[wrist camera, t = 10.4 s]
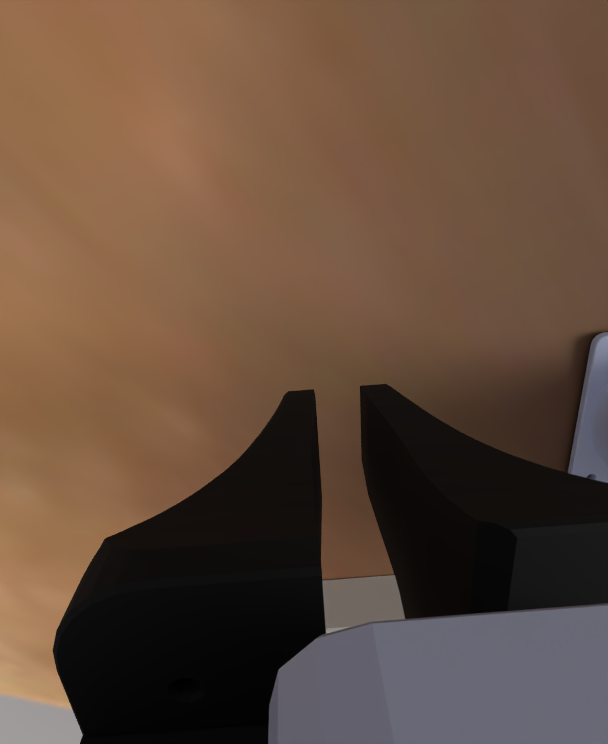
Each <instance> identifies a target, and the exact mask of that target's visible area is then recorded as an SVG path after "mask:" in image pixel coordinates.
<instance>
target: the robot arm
mask: <svg viewBox="0 0 608 744" xmlns="http://www.w3.org/2000/svg"><path fill="white" fill-rule="evenodd" d="M360 406H361V448H362V463H363V469H364V475H365V480H366V485H367V490H368V495H369V498H370V501H371V504H372V507H373V511H374V514H375V517H376V520H377V523H378V526H379V529H380V532H381V535H382V538H383V541H384V544H385V547H386V550H387V553H388V556H389V559H390V562H391V565H392V568H393V571H394V574H395V578H396V582H397V585H398V589H399V593H400V597H401V602H402V606H403V611H404V616H405V619H400V620H387V621H374V622H368V623H364V624H360V625H357V626H353V627H349V628H345V629H342V630H338V631H334V632H331V633H327V634H326V626H325V612H324V597H323V583H322V570H321V522H322V492H321V476H320V461H319V446H318V430H317V415H316V400H315V393H314V390H300V391H288V392H287V393H286V394H285V395H284V397H283V399H282V401H281V403H280V405H279V406H278V408H277V410H276V411H275V413H274V415H273V416H272V418H271V419H270V421H269V422H268V423H267V425H266V426H265V428H264V429H263V431H262V432H261V433H260V435H259V436H258V437H257V438H256V439H255V441H254V442H253V443H252V444H251V445H250V447H249V448H248V449H247V450H246V451H245V452H244V453H243V454H242V455H241V457H240V458H239V459H238V460H237V461H235V462H234V463H233V464H232V465H231V466H230V467H229V468H228V469H227V470H225V471H224V472H223V473H222V474H220V475H219V476H218V477H216V478H215V479H214V480H212V481H211V482H210V483H208V484H207V485H205V486H204V487H203V488H201V489H200V490H199V491H197V492H196V493H194V494H193V495H191V496H189V497H188V498H186V499H185V500H183V501H181V502H180V503H178V504H176V505H174V506H173V507H171V508H169V509H167V510H166V511H164V512H162V513H160V514H158V515H156V516H154V517H152V518H150V519H148V520H146V521H144V522H141V523H139V524H137V525H135V526H133V527H130V528H128V529H126V530H124V531H122V532H119V533H117V534H115V535H112V536H110V537H108V538H105V540H104V541H103V543H102V545H101V547H100V548H99V550H98V551H97V553H96V555H95V556H94V558H93V559H92V561H91V563H90V564H89V566H88V568H87V570H86V572H85V574H84V575H83V577H82V579H81V581H80V583H79V585H78V587H77V589H76V591H75V594H74V596H73V598H72V600H71V602H70V604H69V606H68V608H67V610H66V612H65V614H64V616H63V618H62V620H61V623H60V625H59V627H58V629H57V631H56V636H55V642H54V647H53V654H54V659H55V664H56V669H57V672H58V675H59V677H60V680H61V682H62V684H63V687H64V689H65V692H66V694H67V697H68V699H69V702H70V704H71V707H72V709H73V712H74V714H75V716H76V719H77V721H78V724H79V726H80V729H81V731H82V734H83V737H82V739H81V742H80V744H608V332H604V333H600V334H598V335H597V336H595V338H594V339H593V340H592V343H591V346H590V352H589V357H588V363H587V369H586V374H585V380H584V385H583V391H582V396H581V402H580V407H579V413H578V418H577V424H576V430H575V435H574V441H573V446H572V452H571V457H570V463H569V468H568V473H565V472H562V471H558V470H555V469H551V468H548V467H545V466H541V465H539V464H536V463H533V462H530V461H527V460H524V459H521V458H518V457H515V456H512V455H510V454H507V453H505V452H502V451H500V450H497V449H495V448H493V447H491V446H488V445H486V444H484V443H482V442H479V441H477V440H475V439H473V438H471V437H469V436H467V435H465V434H463V433H461V432H459V431H458V430H456V429H454V428H452V427H451V426H449V425H447V424H445V423H443V422H442V421H440V420H439V419H437V418H435V417H434V416H432V415H431V414H429V413H428V412H426V411H424V410H423V409H422V408H420V407H419V406H417V405H416V404H414V403H413V402H411V401H410V400H409V399H407V398H406V397H404V396H403V395H401V394H400V393H399V392H397V391H396V390H394V389H393V388H392V387H390V386H388V385H387V384H380V385H366V386H360ZM590 474H591V476H590V477H588V478H586V477H587V476H588V475H590Z"/></svg>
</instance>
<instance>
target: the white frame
mask: <svg viewBox="0 0 608 744" xmlns="http://www.w3.org/2000/svg"><path fill="white" fill-rule="evenodd" d="M322 583H323V597H324V612H325V626H326V634H327V633H331V632H334V631H338V630H342V629H345V628H349V627H353V626H357V625H360V624H364V623H368V622H374V621H387V620H400V619H405V616H404V611H403V606H402V602H401V597H400V593H399V589H398V585H397V582H396V578H395V575H388V576H375V577H362V578H349V579H336V580H323V581H322Z"/></svg>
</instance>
